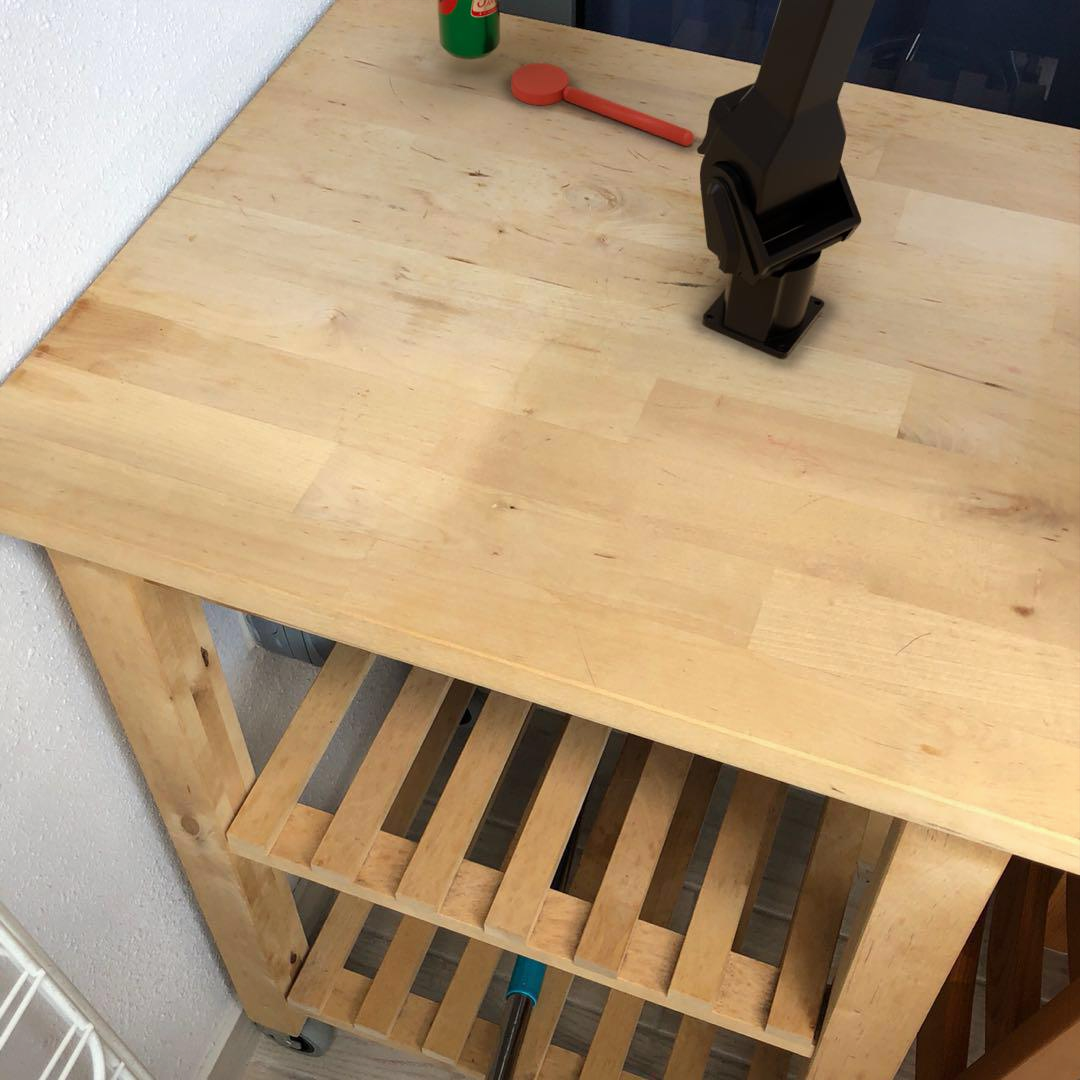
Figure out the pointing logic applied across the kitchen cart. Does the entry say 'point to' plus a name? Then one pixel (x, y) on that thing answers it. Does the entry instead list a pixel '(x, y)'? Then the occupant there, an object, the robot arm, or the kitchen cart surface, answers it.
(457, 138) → the kitchen cart surface
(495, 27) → the soda can
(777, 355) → the robot arm
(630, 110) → the spoon
